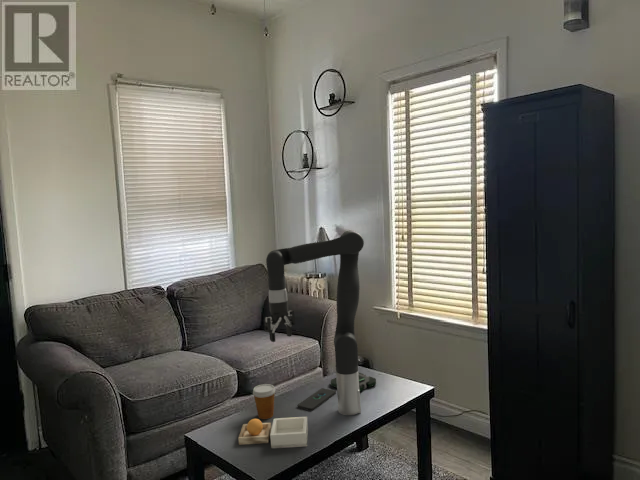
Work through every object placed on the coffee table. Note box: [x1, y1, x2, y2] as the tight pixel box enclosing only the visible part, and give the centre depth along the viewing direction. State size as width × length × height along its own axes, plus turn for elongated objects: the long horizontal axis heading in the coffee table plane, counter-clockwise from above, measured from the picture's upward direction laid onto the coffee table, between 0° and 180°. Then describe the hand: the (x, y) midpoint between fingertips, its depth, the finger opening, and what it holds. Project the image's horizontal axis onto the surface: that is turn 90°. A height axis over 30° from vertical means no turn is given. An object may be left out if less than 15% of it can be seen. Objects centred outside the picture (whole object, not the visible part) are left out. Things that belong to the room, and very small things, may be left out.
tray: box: [238, 422, 272, 446], centre depth 185 cm, size 11×11×2 cm
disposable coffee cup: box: [252, 383, 276, 420], centre depth 201 cm, size 10×10×12 cm
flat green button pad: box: [329, 371, 377, 392], centre depth 228 cm, size 18×18×5 cm
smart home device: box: [296, 387, 337, 412], centre depth 214 cm, size 8×2×20 cm
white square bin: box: [269, 416, 309, 449], centre depth 182 cm, size 13×13×5 cm
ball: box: [246, 418, 263, 435], centre depth 185 cm, size 6×6×6 cm
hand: (281, 338), depth 197 cm, fingers open, 8 cm apart
